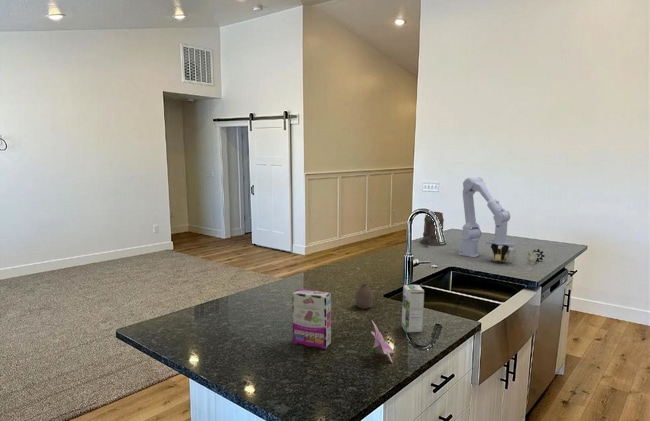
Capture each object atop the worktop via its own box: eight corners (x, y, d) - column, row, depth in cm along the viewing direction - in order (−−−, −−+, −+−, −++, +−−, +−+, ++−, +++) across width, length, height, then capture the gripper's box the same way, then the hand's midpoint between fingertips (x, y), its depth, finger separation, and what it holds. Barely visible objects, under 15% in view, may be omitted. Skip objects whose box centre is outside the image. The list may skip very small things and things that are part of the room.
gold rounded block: (492, 261, 228) (493, 251, 227) (499, 257, 237) (500, 247, 236) (503, 263, 225) (503, 252, 224) (510, 259, 233) (510, 249, 232)
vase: (367, 311, 159) (368, 288, 158) (351, 307, 163) (351, 285, 162) (375, 306, 165) (376, 283, 164) (359, 302, 169) (360, 280, 167)
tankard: (424, 239, 287) (425, 209, 284) (449, 242, 279) (451, 211, 276) (412, 246, 267) (413, 214, 264) (439, 249, 259) (440, 216, 256)
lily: (379, 376, 116) (397, 346, 115) (346, 348, 122) (363, 320, 121) (393, 370, 126) (410, 342, 126) (362, 345, 132) (378, 319, 131)
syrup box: (401, 325, 146) (402, 284, 144) (418, 325, 147) (419, 284, 145) (405, 332, 141) (406, 290, 139) (423, 332, 141) (424, 289, 139)
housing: (491, 260, 234) (492, 247, 233) (496, 257, 240) (497, 245, 239) (510, 263, 227) (511, 250, 226) (515, 260, 233) (516, 247, 232)
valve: (536, 266, 222) (544, 262, 231) (537, 253, 221) (545, 250, 230) (523, 263, 227) (531, 259, 235) (524, 251, 226) (532, 248, 234)
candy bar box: (331, 343, 133) (332, 292, 131) (326, 350, 129) (326, 297, 126) (298, 337, 137) (298, 287, 135) (292, 343, 133) (291, 292, 130)
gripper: (484, 233, 227) (482, 258, 229) (512, 236, 218) (511, 262, 220) (489, 231, 233) (487, 255, 235) (517, 234, 223) (515, 260, 225)
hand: (499, 258), depth 228 cm, fingers closed on gold rounded block, 3 cm apart
